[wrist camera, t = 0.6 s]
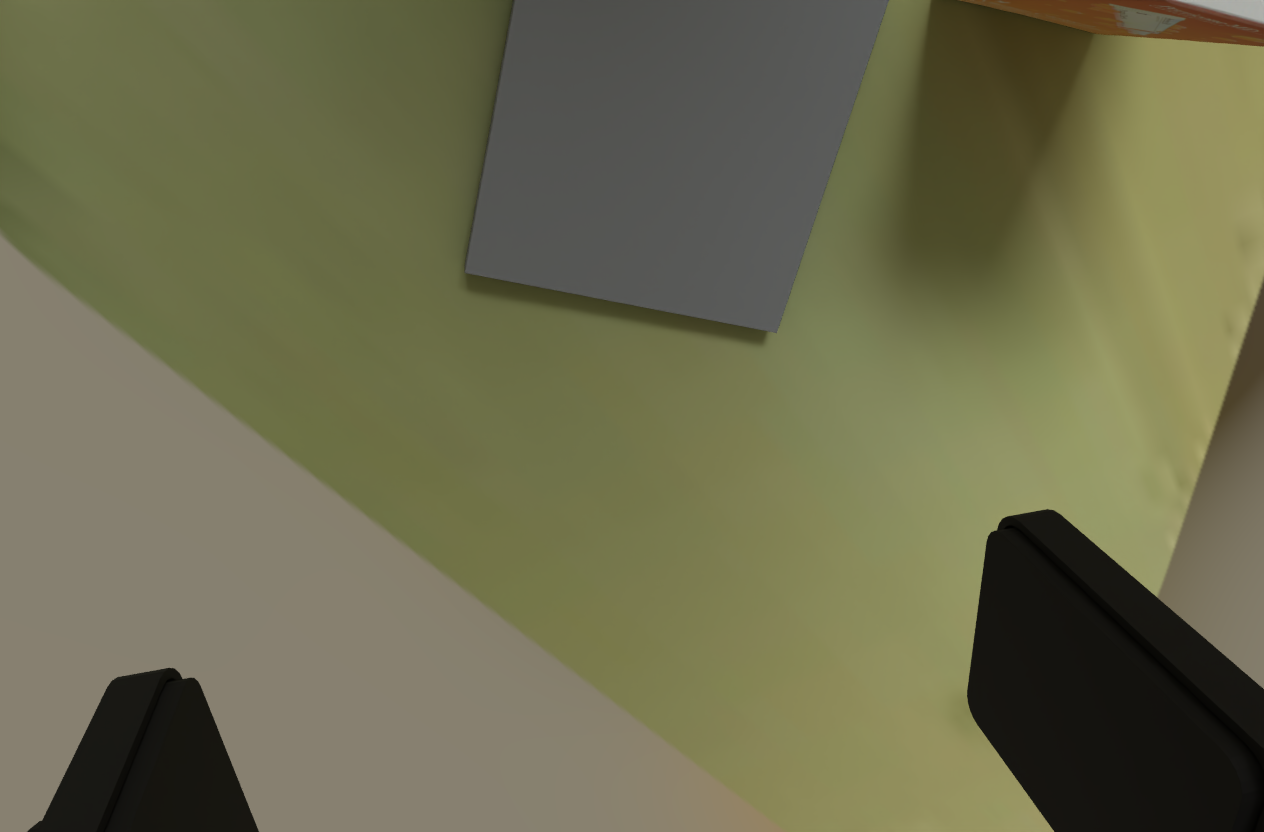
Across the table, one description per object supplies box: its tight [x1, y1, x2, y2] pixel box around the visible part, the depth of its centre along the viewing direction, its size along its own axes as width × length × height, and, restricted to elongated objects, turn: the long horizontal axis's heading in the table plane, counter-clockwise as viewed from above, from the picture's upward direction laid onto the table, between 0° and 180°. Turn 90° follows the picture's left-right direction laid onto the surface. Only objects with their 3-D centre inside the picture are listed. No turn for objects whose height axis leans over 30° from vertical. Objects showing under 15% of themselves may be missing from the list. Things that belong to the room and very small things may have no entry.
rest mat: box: [465, 0, 889, 333], centre depth 35 cm, size 14×14×1 cm
